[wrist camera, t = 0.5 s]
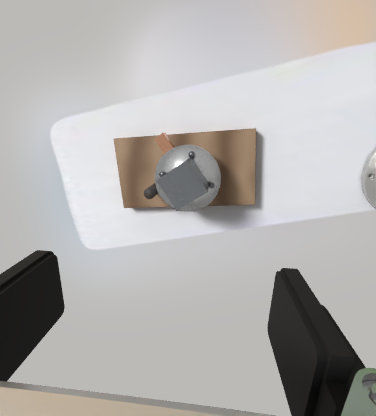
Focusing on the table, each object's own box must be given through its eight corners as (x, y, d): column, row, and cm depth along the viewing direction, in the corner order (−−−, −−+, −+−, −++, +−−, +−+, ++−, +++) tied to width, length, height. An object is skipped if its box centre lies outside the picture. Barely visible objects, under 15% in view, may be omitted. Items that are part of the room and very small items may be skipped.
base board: (254, 128, 35) (260, 127, 29) (253, 201, 38) (258, 212, 32) (119, 138, 38) (100, 139, 32) (128, 204, 41) (113, 215, 35)
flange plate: (233, 187, 33) (235, 198, 27) (180, 219, 35) (172, 235, 30) (188, 116, 31) (180, 111, 25) (135, 154, 33) (118, 158, 28)
